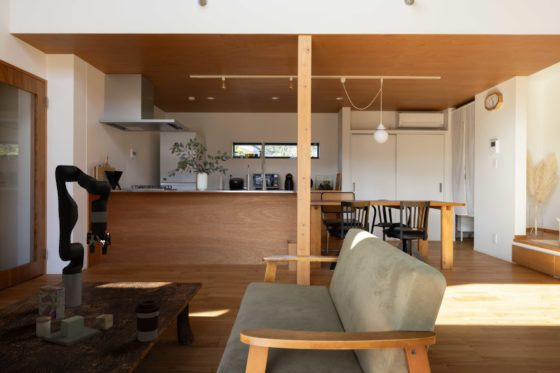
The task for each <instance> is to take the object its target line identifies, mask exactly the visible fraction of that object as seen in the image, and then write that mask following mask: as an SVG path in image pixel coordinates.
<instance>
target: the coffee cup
mask: <svg viewBox="0 0 560 373" xmlns="http://www.w3.org/2000/svg"><path fill="white" fill-rule="evenodd" d="M161 308H162V307H161V304H160V303H158V302H157V301H156V300H153V299H149V300H142V301H140V302H139V303H138V304H137V305H135V307H134V312H135V313H136V315H135V316H136V317H135V318H136V320H135V321H136V330H137V339H138V340H137V341H139V342H142V343H148V342H153V341H154V340H156V339H157V338H158V337H157V336H158V329H159V322H160V321H159V320H160V312H159V311H160V310H161Z"/></svg>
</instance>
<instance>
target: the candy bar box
mask: <svg viewBox="0 0 560 373" xmlns="http://www.w3.org/2000/svg"><path fill="white" fill-rule="evenodd" d="M65 309H66V308H65V288H62V286H61V287H60V286H52V285H46V286H41V287H38V317H41V316H51V320H53V319H58V318H63V317H64V318H66V314H65V313H66V310H65Z"/></svg>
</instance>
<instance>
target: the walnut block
mask: <svg viewBox="0 0 560 373" xmlns="http://www.w3.org/2000/svg"><path fill="white" fill-rule="evenodd" d="M65 319H67V318H66V317H65V318H64V317H63V318H58V319H53V320H51V322H50V333H51V332H52V333H53V332H55V331H56V332H57V331H61V321H62V320H65Z"/></svg>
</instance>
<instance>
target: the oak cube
mask: <svg viewBox="0 0 560 373" xmlns="http://www.w3.org/2000/svg"><path fill="white" fill-rule="evenodd" d="M113 320H114V315H113V314H109V313H108V314H104V313H102V314H100V315H99V316H96V317H95V328H94V329H97V330H101V331H102V330H104V331H105V330H108V329H109V328H112V327H113V325H114V324H113V322H114V321H113Z"/></svg>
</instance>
